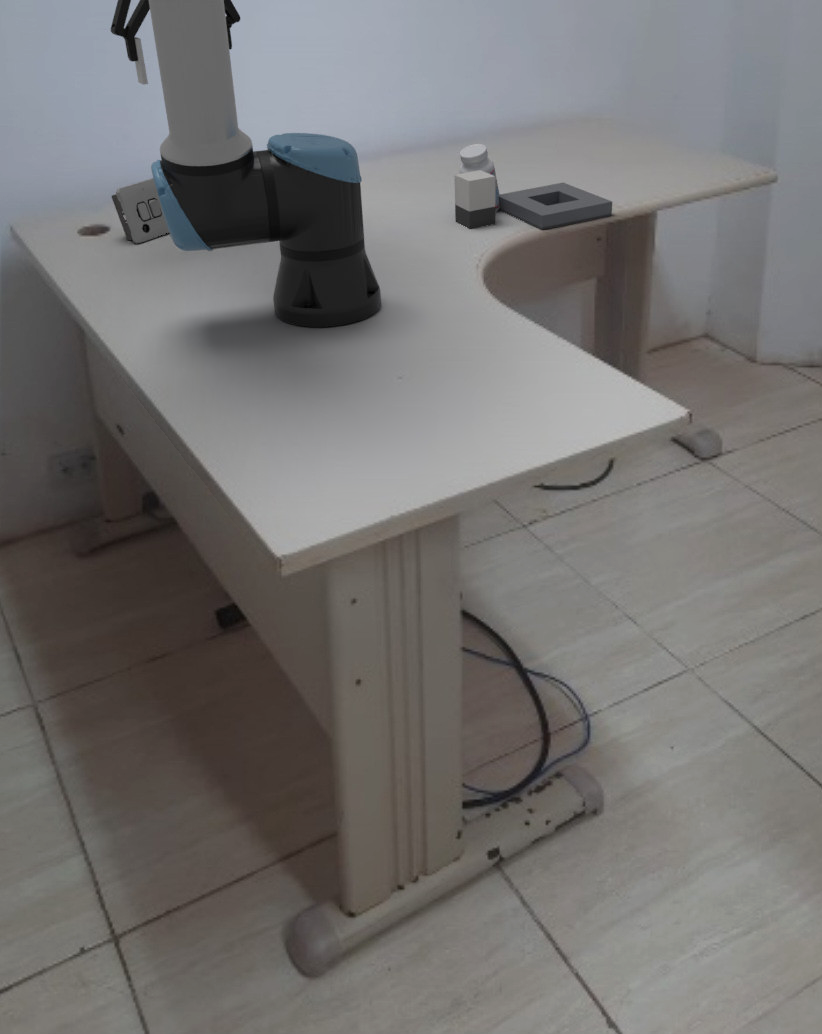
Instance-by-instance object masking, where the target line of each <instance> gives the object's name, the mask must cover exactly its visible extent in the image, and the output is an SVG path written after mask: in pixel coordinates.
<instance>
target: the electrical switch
mask: <svg viewBox="0 0 822 1034" xmlns="http://www.w3.org/2000/svg"><path fill="white" fill-rule="evenodd" d="M111 199H112V202H113V205H114V208H115V210H116V213H117V215H118V219H119V222H120V223H121V226H122V227H121V228H122V230H123V232H124V235H125V237H126V241H131V240H132V242H133V243H135V244H136V243H139V244H141V243H144V242H147V241H150V240H153V239H156V238H158V236H159V237H161V235H162V236H164V235H167V234H170V232H169V229H168V227H167V223H166V220H165V217H164V214H163V211H162V207H161V204H160V200H159V196H158V193H157V189H156V186H155V182H154V178H153V177H152V178H149V179H146V180H142V181H139V182H136V183H132V184H129V185H125V186H122V187H119V188H116V190H115V194H113V195H111ZM166 233H167V234H166Z"/></svg>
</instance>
